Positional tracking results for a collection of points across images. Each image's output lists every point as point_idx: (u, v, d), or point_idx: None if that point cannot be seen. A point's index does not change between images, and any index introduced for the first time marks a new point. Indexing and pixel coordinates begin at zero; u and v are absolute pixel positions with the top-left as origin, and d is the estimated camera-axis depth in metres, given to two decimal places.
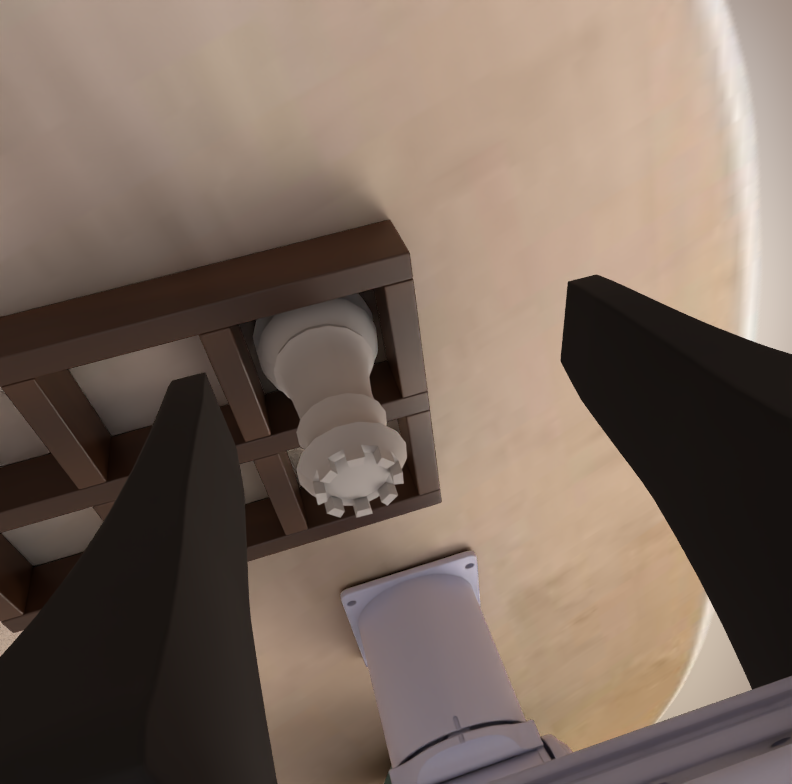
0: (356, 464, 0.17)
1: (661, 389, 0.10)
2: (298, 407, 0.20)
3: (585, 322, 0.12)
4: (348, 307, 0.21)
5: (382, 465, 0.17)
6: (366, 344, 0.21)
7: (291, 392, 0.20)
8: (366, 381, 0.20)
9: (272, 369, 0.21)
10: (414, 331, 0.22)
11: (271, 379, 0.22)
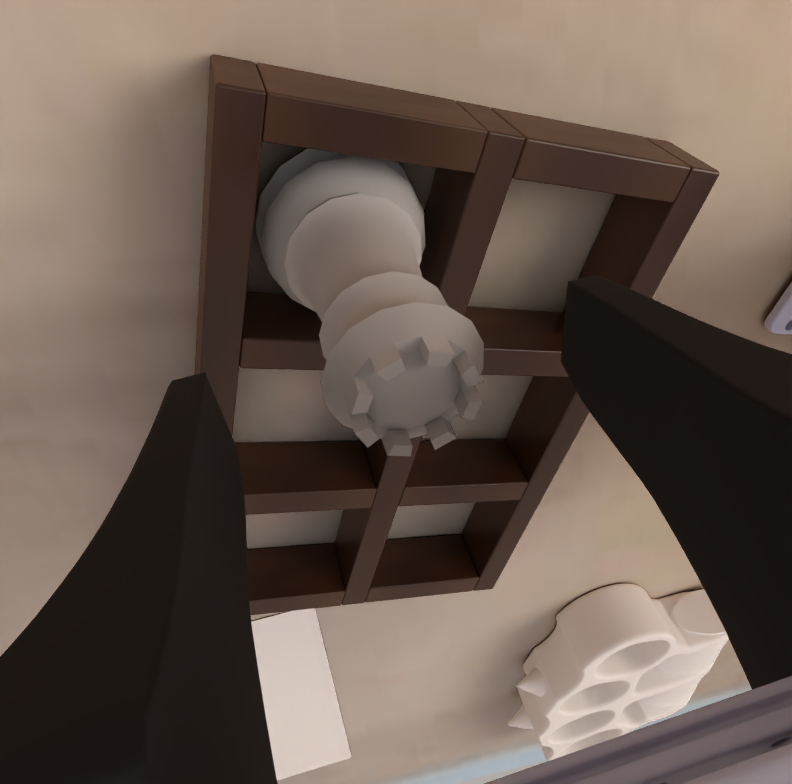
0: (366, 404, 0.11)
1: (661, 389, 0.10)
2: None
3: (585, 322, 0.12)
4: (292, 188, 0.15)
5: (393, 374, 0.11)
6: (346, 198, 0.14)
7: None
8: (362, 251, 0.13)
9: None
10: (364, 119, 0.13)
11: None
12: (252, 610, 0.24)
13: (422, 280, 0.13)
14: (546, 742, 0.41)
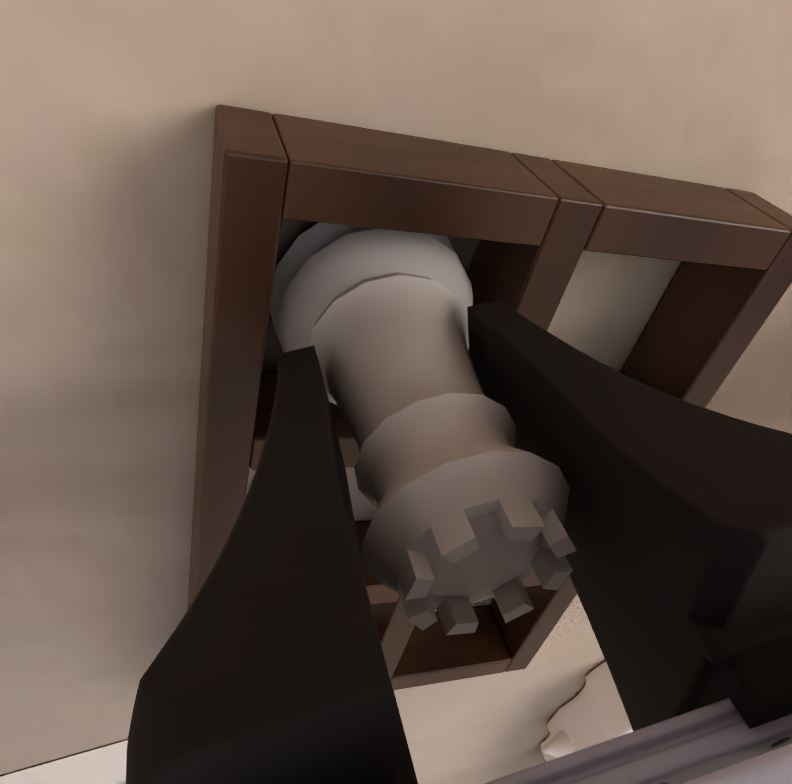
0: (425, 588, 0.08)
1: (543, 422, 0.10)
2: None
3: (482, 349, 0.12)
4: (316, 267, 0.12)
5: (463, 555, 0.08)
6: (383, 281, 0.12)
7: None
8: (407, 356, 0.11)
9: None
10: (410, 188, 0.11)
11: None
12: None
13: (487, 400, 0.10)
14: None
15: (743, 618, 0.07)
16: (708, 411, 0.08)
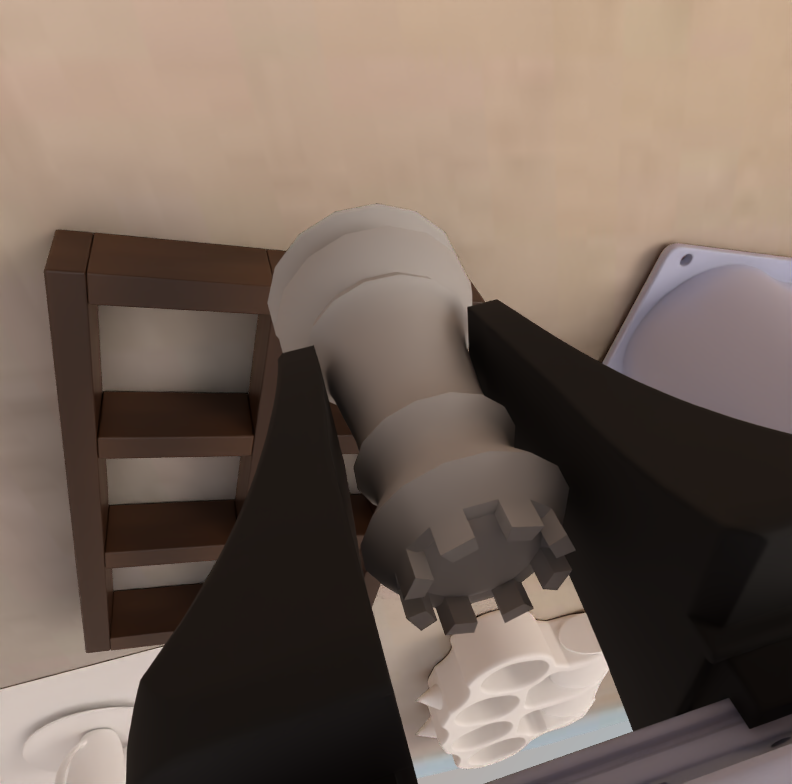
0: (424, 588, 0.08)
1: (543, 422, 0.10)
2: None
3: (482, 349, 0.12)
4: (315, 266, 0.12)
5: (462, 555, 0.08)
6: (383, 281, 0.12)
7: None
8: (406, 355, 0.11)
9: None
10: (169, 285, 0.17)
11: None
12: (144, 642, 0.28)
13: (486, 400, 0.10)
14: (450, 750, 0.45)
15: (743, 618, 0.07)
16: (708, 411, 0.08)
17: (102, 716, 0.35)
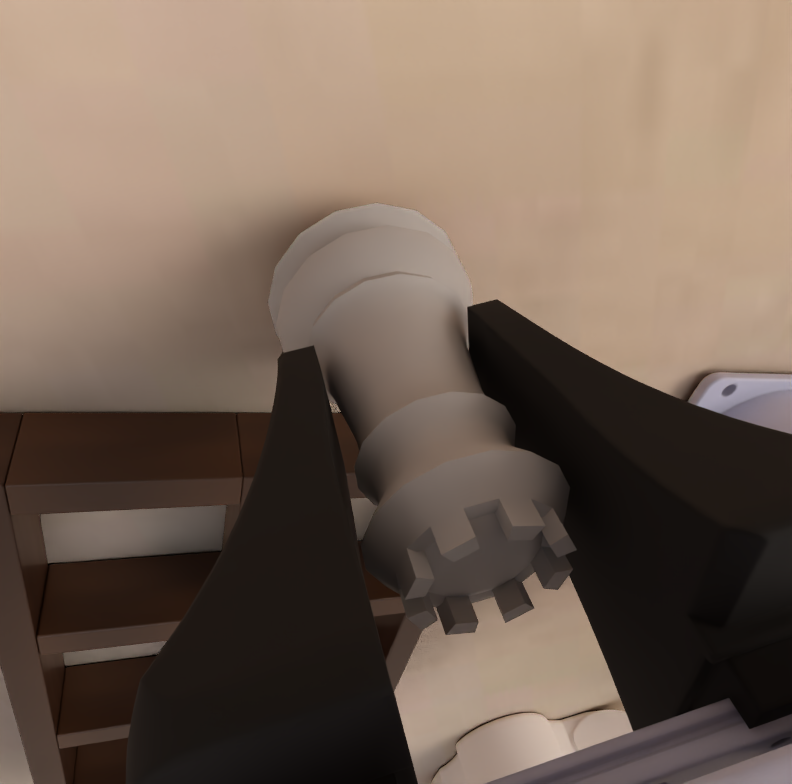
0: (425, 588, 0.08)
1: (543, 422, 0.10)
2: None
3: (482, 349, 0.12)
4: (316, 266, 0.12)
5: (463, 554, 0.08)
6: (383, 280, 0.12)
7: None
8: (407, 355, 0.11)
9: None
10: (110, 488, 0.14)
11: None
12: None
13: (487, 400, 0.10)
14: None
15: (743, 618, 0.07)
16: (708, 411, 0.08)
17: None
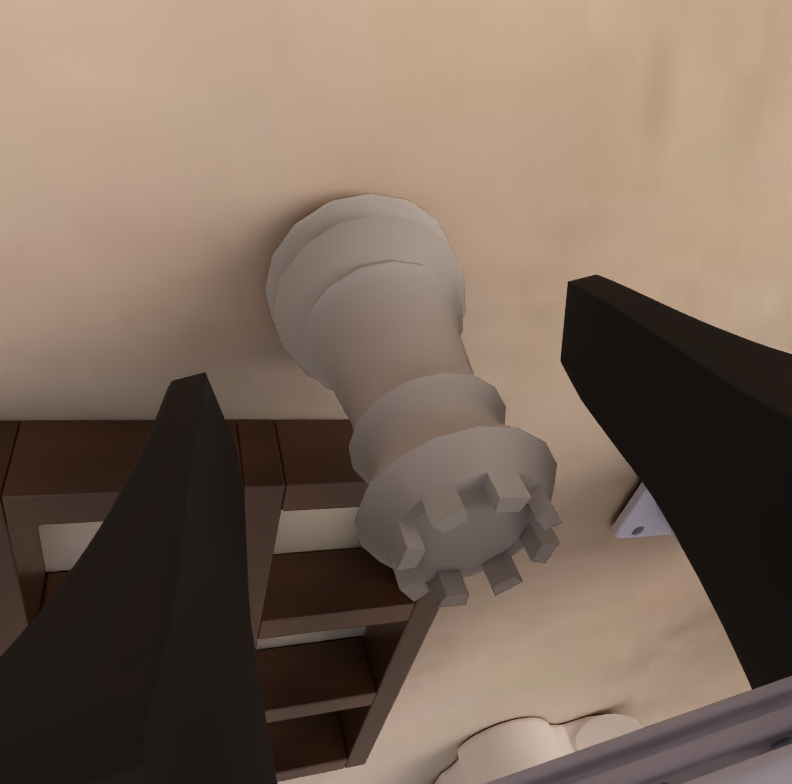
0: (416, 559, 0.09)
1: (661, 389, 0.10)
2: None
3: (585, 322, 0.12)
4: (311, 254, 0.12)
5: (452, 525, 0.08)
6: (377, 267, 0.12)
7: None
8: (400, 338, 0.11)
9: None
10: (109, 498, 0.14)
11: None
12: None
13: (477, 381, 0.10)
14: None
15: None
16: None
17: None
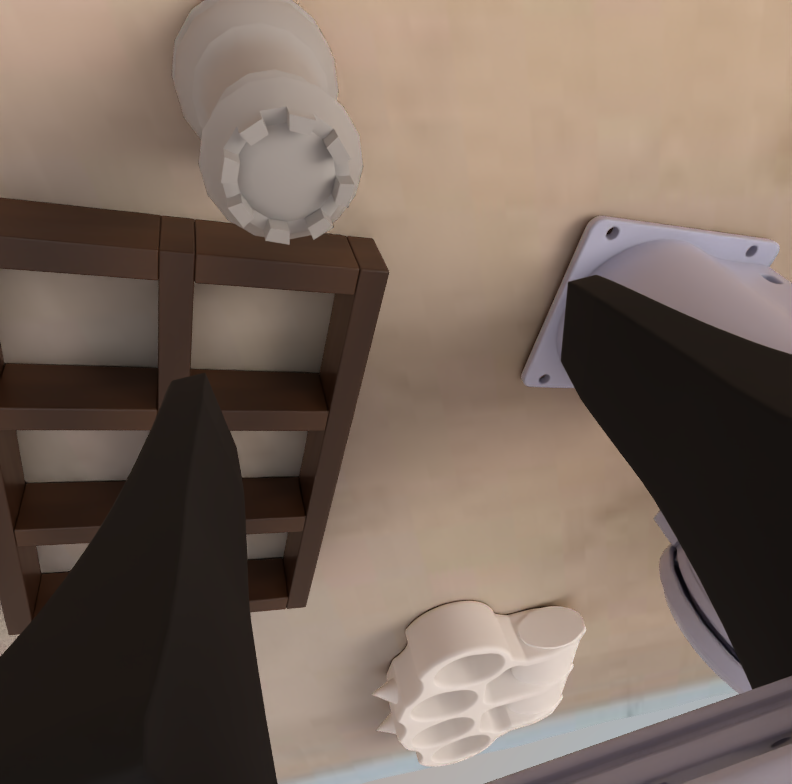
0: (234, 173, 0.12)
1: (661, 389, 0.10)
2: None
3: (585, 322, 0.12)
4: (198, 22, 0.15)
5: (256, 138, 0.11)
6: (247, 27, 0.15)
7: None
8: (254, 65, 0.14)
9: None
10: (43, 246, 0.17)
11: None
12: None
13: (305, 82, 0.13)
14: (410, 746, 0.44)
15: None
16: None
17: None
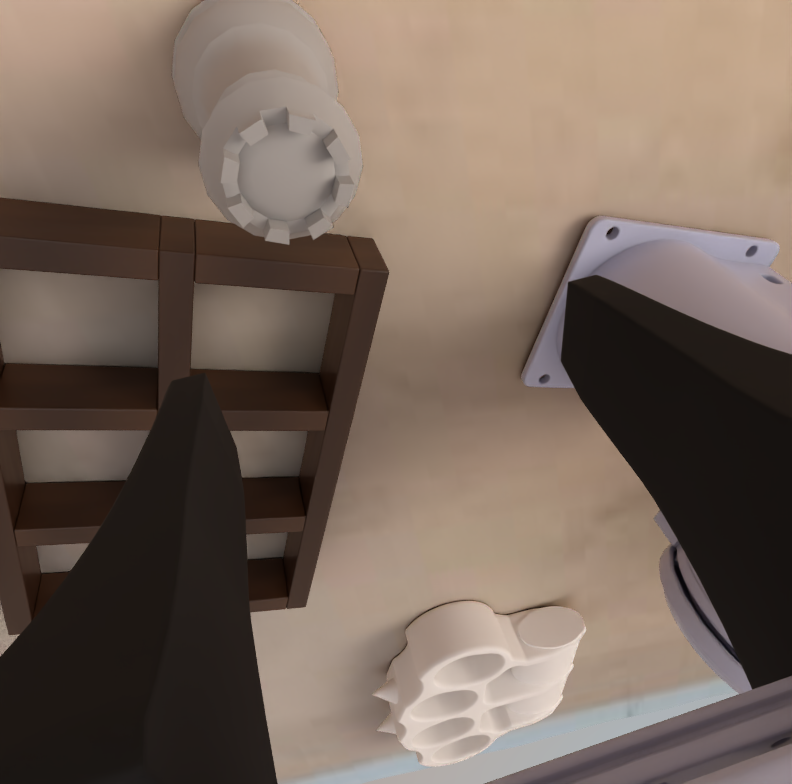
0: (234, 173, 0.12)
1: (661, 389, 0.10)
2: None
3: (585, 322, 0.12)
4: (198, 22, 0.15)
5: (256, 138, 0.11)
6: (247, 27, 0.15)
7: None
8: (254, 65, 0.14)
9: None
10: (43, 246, 0.17)
11: None
12: None
13: (305, 82, 0.13)
14: (410, 746, 0.44)
15: None
16: None
17: None
